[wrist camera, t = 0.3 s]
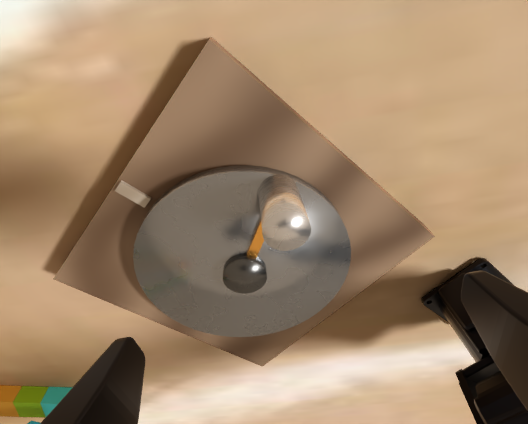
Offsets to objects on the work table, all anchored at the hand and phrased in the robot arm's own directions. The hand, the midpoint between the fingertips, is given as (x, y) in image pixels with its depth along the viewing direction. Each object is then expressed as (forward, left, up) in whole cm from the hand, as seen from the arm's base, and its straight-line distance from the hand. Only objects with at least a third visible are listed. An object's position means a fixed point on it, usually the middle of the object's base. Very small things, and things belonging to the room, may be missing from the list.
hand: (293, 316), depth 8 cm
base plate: (-4, +7, -14) cm, 16 cm away
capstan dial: (-4, +7, -12) cm, 15 cm away
